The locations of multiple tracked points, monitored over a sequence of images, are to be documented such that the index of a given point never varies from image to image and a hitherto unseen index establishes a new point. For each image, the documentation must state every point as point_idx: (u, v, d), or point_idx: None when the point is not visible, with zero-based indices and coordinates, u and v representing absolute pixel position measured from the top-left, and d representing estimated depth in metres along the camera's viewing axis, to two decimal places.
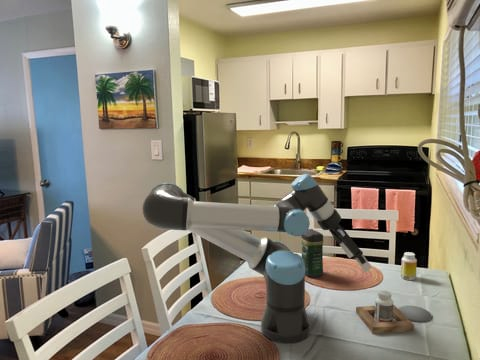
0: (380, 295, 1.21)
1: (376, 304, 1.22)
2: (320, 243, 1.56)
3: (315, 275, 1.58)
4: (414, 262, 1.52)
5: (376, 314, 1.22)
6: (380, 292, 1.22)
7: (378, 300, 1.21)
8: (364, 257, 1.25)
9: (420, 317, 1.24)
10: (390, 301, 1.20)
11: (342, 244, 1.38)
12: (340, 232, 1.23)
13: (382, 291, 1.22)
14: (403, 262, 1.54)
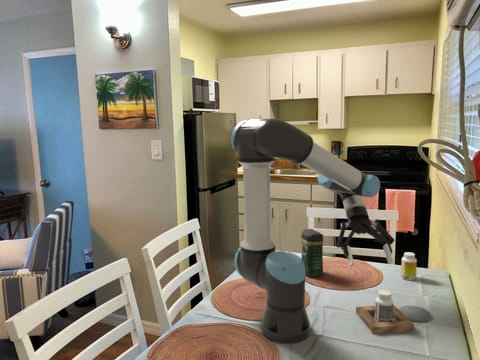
0: (380, 295, 1.21)
1: (376, 304, 1.22)
2: (320, 243, 1.56)
3: (315, 275, 1.58)
4: (414, 262, 1.52)
5: (376, 314, 1.22)
6: (380, 292, 1.22)
7: (378, 300, 1.21)
8: None
9: (420, 317, 1.24)
10: (390, 301, 1.20)
11: None
12: None
13: (382, 291, 1.22)
14: (403, 262, 1.54)
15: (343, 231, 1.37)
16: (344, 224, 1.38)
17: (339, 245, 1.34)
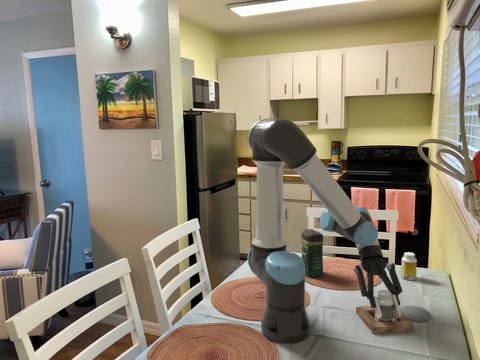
0: (380, 295, 1.21)
1: None
2: (320, 243, 1.56)
3: (315, 275, 1.58)
4: (414, 262, 1.52)
5: None
6: (380, 292, 1.22)
7: (378, 300, 1.21)
8: None
9: (420, 317, 1.24)
10: (390, 301, 1.20)
11: None
12: None
13: (382, 291, 1.22)
14: (403, 262, 1.54)
15: (362, 277, 1.25)
16: (359, 268, 1.27)
17: (366, 294, 1.22)
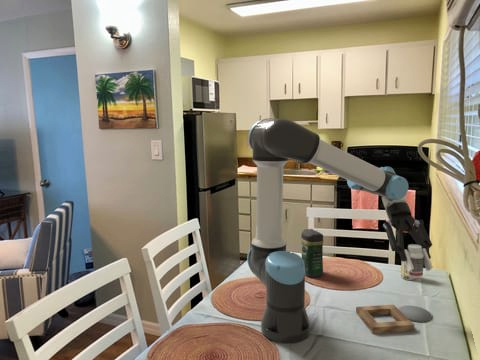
0: (410, 248, 1.22)
1: None
2: (320, 243, 1.56)
3: (315, 275, 1.58)
4: None
5: (406, 268, 1.24)
6: (410, 246, 1.23)
7: (408, 253, 1.23)
8: None
9: (420, 317, 1.24)
10: (421, 254, 1.22)
11: None
12: None
13: (412, 245, 1.24)
14: (403, 262, 1.54)
15: (392, 232, 1.26)
16: (388, 224, 1.28)
17: (396, 248, 1.24)
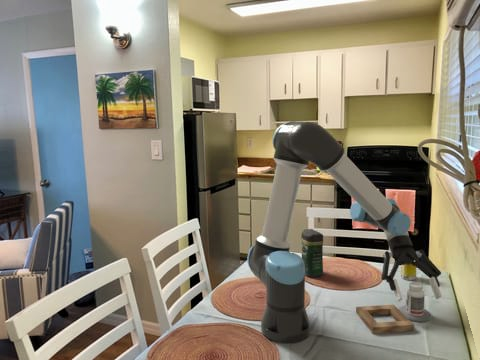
0: (412, 287, 1.25)
1: (407, 296, 1.26)
2: (320, 243, 1.56)
3: (315, 275, 1.58)
4: None
5: (407, 306, 1.26)
6: (411, 284, 1.26)
7: (410, 292, 1.25)
8: None
9: (420, 317, 1.24)
10: (421, 293, 1.24)
11: None
12: None
13: (413, 283, 1.26)
14: None
15: (388, 262, 1.29)
16: (388, 254, 1.31)
17: (385, 278, 1.27)
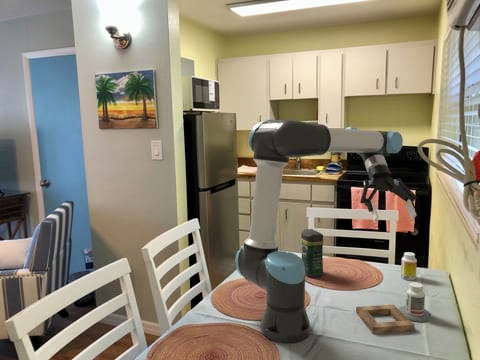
0: (412, 287, 1.25)
1: (408, 296, 1.26)
2: (320, 243, 1.56)
3: (315, 275, 1.58)
4: (414, 262, 1.52)
5: (408, 305, 1.26)
6: (412, 284, 1.26)
7: (410, 292, 1.25)
8: None
9: (420, 317, 1.24)
10: (422, 293, 1.24)
11: None
12: None
13: (414, 283, 1.26)
14: (403, 262, 1.54)
15: (366, 188, 1.39)
16: (367, 181, 1.41)
17: (363, 200, 1.37)
